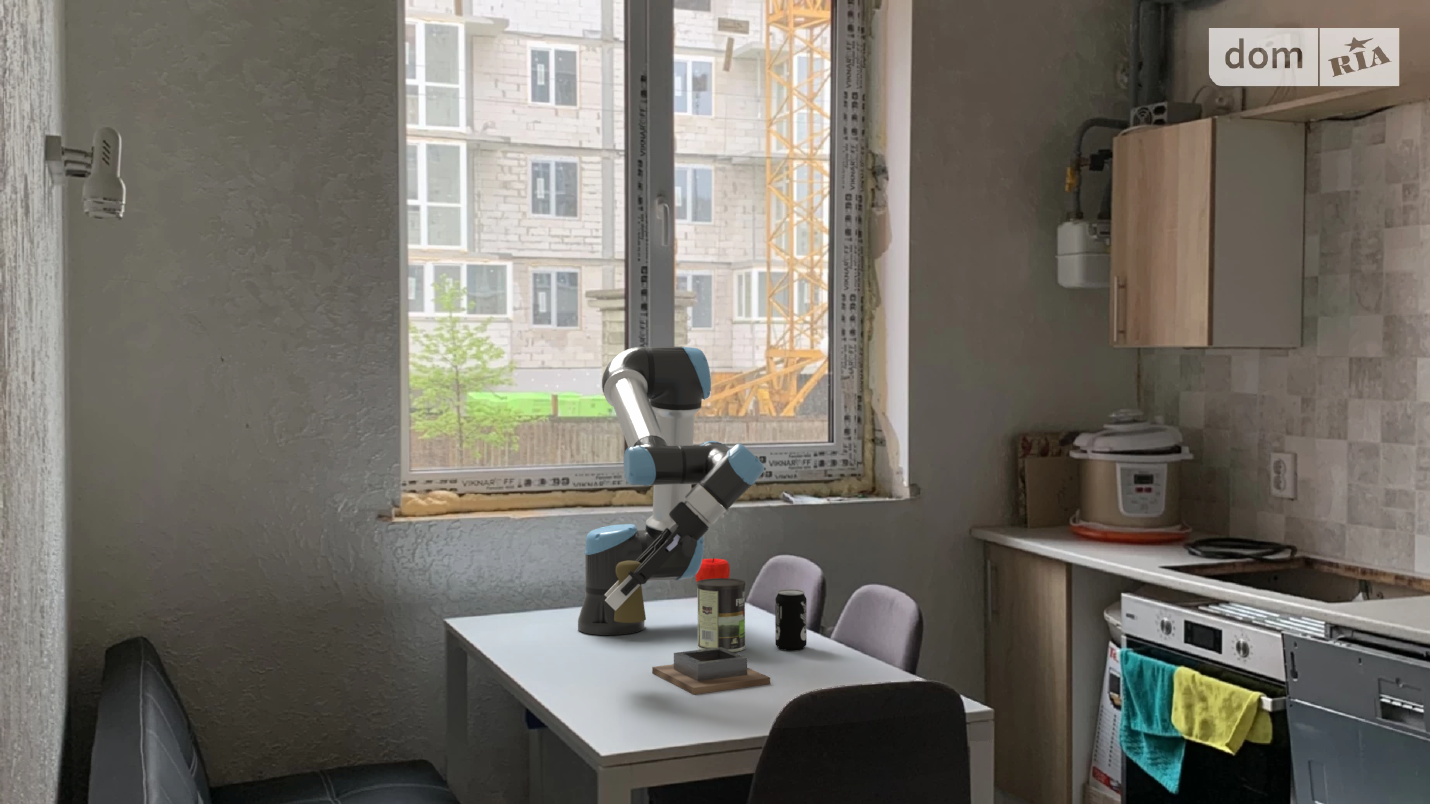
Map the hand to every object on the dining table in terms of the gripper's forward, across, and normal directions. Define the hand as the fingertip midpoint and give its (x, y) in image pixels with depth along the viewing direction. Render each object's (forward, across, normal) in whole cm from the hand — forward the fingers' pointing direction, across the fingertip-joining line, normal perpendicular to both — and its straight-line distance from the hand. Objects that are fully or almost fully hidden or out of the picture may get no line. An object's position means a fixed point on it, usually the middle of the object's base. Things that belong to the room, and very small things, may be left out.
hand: (610, 602), depth 228 cm
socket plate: (-3, +1, -24) cm, 24 cm away
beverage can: (-16, +25, -38) cm, 49 cm away
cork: (0, 0, -5) cm, 5 cm away
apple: (-9, +82, -31) cm, 88 cm away
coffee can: (-6, +27, -28) cm, 39 cm away
